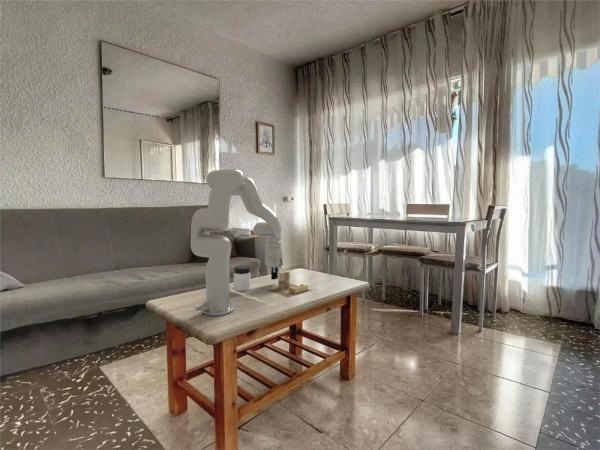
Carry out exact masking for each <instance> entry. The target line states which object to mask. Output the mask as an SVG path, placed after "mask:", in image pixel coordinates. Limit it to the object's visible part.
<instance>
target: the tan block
mask: <svg viewBox="0 0 600 450" xmlns="http://www.w3.org/2000/svg"><path fill="white" fill-rule="evenodd" d="M290 276H291V275H290V271H288V270H282V271H278V279H277V280H278V287H279V288H282V289H284V288H288V287H290V284H291V283H290V278H291V277H290Z"/></svg>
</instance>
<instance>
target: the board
mask: <svg viewBox="0 0 600 450" xmlns="http://www.w3.org/2000/svg"><path fill="white" fill-rule="evenodd" d="M290 287H294V288H296V287H300V285H298V284H297V285H296V284H294V283H293V284H292V283H290ZM265 291H267V292H269V293H273V294H276V295H278V296H282V297H285V298H291V297H295V296H298V295H301V294H304V293H307V292H310V291H313V289H311V288H308V291H304V292H301V293H297V294H292V293H289V287H288V288H284V289H282V288H279V286H276V287H272V288H271V287H270V288H268V289H265Z"/></svg>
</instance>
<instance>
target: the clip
mask: <svg viewBox="0 0 600 450" xmlns="http://www.w3.org/2000/svg"><path fill="white" fill-rule="evenodd" d="M299 286H300V287H296V288H294V287H289V293H292V294H297V293H301V292H304V291H308V289H309V285H307V284H303V283H301V284H300V285H299ZM308 292H309V291H308Z"/></svg>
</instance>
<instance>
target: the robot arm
mask: <svg viewBox="0 0 600 450" xmlns="http://www.w3.org/2000/svg"><path fill="white" fill-rule="evenodd" d="M206 185H207V186H208V187H209V188H210V192H209V196H208V201H207V207H206V208H205V207H204V208H202V207H201V208H199V209H197V210H196V211H195V212H194V213H193V215H192V218H191V225H190V249H191V251H192V253H193V254H194V255H195V256H197V257H200V258H201V257H204V258H208V261H207V264H206V266H205V269H204V270H205V271H204V272H205V273H204V274H205V297H206V300H204V301H203V303H202V304H199V305H195V306H194V310H195V312H198V311H201V312H202V313H203V314H204V315H206V316H211V317H212V316H215V317H216V316H224V315H227V314H230V313H232V312H233V311H235V310H234V309H235V306H234V305H233V304H231V293H230V292H231V287H230V285H231V284H230V281H231V280H230V261H231V260H230V259H231V253H232V242H231V240H230V239H229V238H228V237H227V236H224V235H221V234H211V232H217V233H218V232H224V231H226V230H227V229H228V227H229V224H230V223H229V221H230V204H231V203H230V202H231V197H232V196H235V197H236V196H237V197H238V196H239V198H240V199H241V202H242V203H243V205H244V207H245V209H246V211H247V212H248V213H249V214H250V215H253V216H256V217H258V218H259V219H261V220H263V221H264V222H257V223H256V224H254V226H253V234H254V235H255V236H256V237H257V238H258V237H259V238H266V247H265V253H264V264H265V266H267V268H269V270H270V274H271V275H270V276H271V277H270V278H271V280H274V281H275V280H278V272H280V270H283V269H282V268H283V266H284V264H283V262H284V256H283V249H282V226H281V222H280V220H279V218H278V216H277V214H276V213H275V212H274V211H273V210H272V209H271V208H270V207H269V206H267V205H266V204H265V203H264V202H263V199H262V198H261V195H260V192H259V190H258V188H257V186H256V183H255V181H254V179H253V178H251V177H248V176H244V174H243V172H242V171H241V170H239V169H236V168H228V169H226V168H225V169H216V170H211V171H210V172H209V173H208V174H207V175H206Z"/></svg>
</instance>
